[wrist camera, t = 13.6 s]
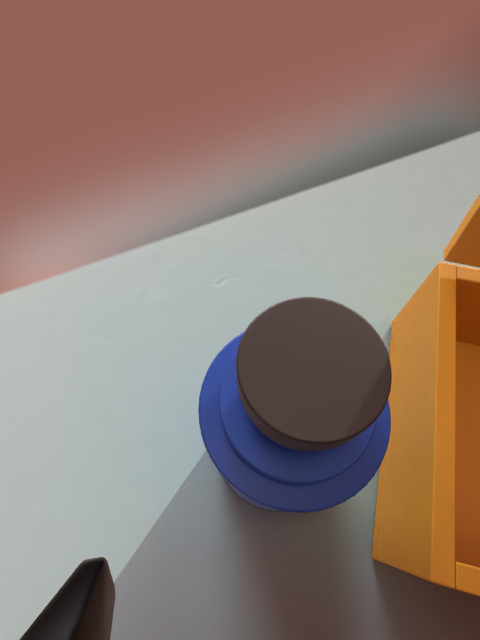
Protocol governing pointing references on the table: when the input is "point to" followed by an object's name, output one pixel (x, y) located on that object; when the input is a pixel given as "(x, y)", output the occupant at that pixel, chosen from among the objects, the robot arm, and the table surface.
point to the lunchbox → (434, 435)
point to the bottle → (299, 406)
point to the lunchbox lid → (466, 239)
